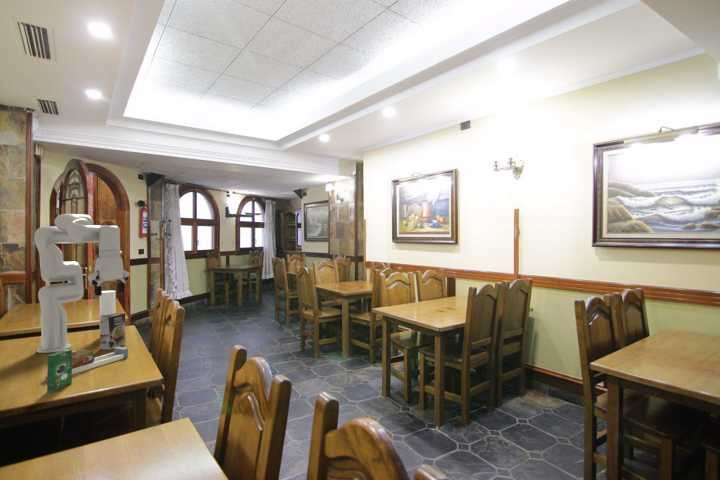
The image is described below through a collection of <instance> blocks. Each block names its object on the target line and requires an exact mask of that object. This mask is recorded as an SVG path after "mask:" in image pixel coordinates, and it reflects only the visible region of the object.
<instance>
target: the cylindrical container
mask: <svg viewBox="0 0 720 480" xmlns="http://www.w3.org/2000/svg"><path fill="white" fill-rule="evenodd" d="M116 304H117V303H116V290H102V295H101V296H99V318H100V317H101V316H105V315H110V314H114V313H117V312H116V309H117V308H116Z"/></svg>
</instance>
